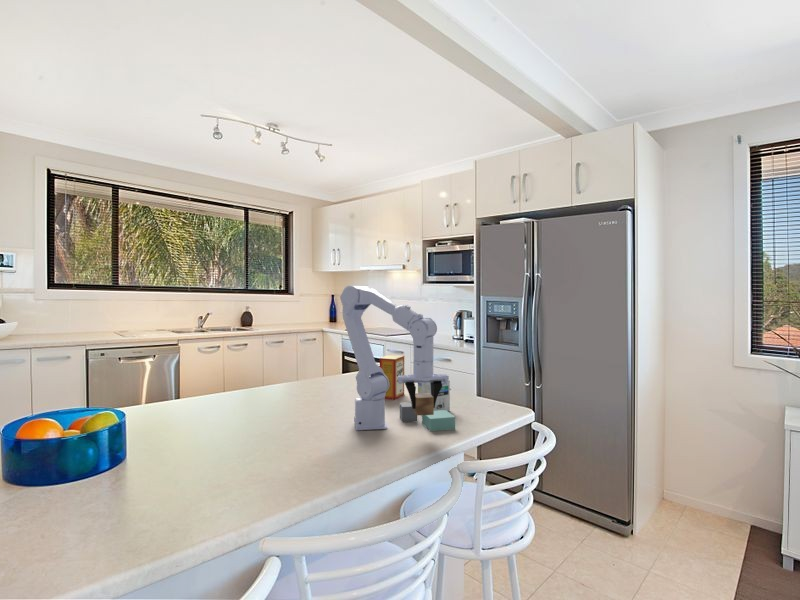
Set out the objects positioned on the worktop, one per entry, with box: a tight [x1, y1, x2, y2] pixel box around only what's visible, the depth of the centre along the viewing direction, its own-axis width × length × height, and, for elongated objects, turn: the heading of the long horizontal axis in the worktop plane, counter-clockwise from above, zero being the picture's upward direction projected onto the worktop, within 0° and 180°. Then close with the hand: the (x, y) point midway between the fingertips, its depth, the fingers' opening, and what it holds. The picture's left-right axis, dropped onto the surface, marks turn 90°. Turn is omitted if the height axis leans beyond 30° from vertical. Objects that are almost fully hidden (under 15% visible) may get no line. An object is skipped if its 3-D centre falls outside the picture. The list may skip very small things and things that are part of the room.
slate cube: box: [399, 401, 418, 423], centre depth 140 cm, size 5×5×5 cm
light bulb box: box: [417, 380, 451, 412], centre depth 152 cm, size 11×7×11 cm, turn 34°
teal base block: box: [421, 410, 456, 432], centre depth 133 cm, size 8×8×4 cm
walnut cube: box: [413, 392, 434, 417], centre depth 123 cm, size 5×5×5 cm
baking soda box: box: [379, 354, 405, 401], centre depth 170 cm, size 10×6×16 cm
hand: (423, 407), depth 123 cm, fingers closed on walnut cube, 5 cm apart
